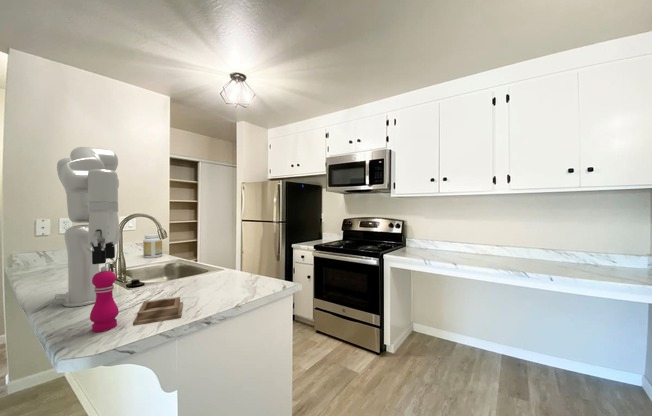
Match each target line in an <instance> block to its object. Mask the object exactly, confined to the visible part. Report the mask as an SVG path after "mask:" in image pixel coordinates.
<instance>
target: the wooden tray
mask: <svg viewBox="0 0 652 416" xmlns="http://www.w3.org/2000/svg"><path fill="white" fill-rule="evenodd" d="M183 308H184V302H183V301H181V297H180V296H176V297H168V298H160V299H154V300H152V299H151V300H146V301H145V300H144V301H143V303H142V304H141V306H140V308H139V310H138V312H137V314H136V316H135V318H134V320H133V322H132V326H138V325H143V324H150V323H156V322H163V321H169V320H174V319H181V318H182V313H183Z"/></svg>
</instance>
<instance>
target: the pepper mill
mask: <svg viewBox="0 0 652 416" xmlns="http://www.w3.org/2000/svg"><path fill="white" fill-rule="evenodd" d="M116 280H117V277H116V273H114V272H113V271H111V270H108V266H104V265H103V266H102V267H100V271H99V273H97V274H95V275H94V276H93V278H92V284H93V285H94V286H95V288H94V289H95V291H94V292H95V293H96V301H95V303H93V307H92V308H91V311H90V314H89V320H90V321H91V322H92V323H93V324H92V325H91V331H92V332H94V333H101V332H106V331H109V330H113V329H115V328H116V326H117V325H118V320H117V318H116V317H118V316H119V313H120V312H119V307H118V305H117V303H116V302H115V300H114V296H113V291H114V290H115V287H114V286H115V285H114V283H115V282H116Z"/></svg>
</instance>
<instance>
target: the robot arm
mask: <svg viewBox="0 0 652 416" xmlns="http://www.w3.org/2000/svg"><path fill="white" fill-rule="evenodd" d="M69 156H70V157H66V158H61V159H59V160H58V161H57V163H56V171H57V175H58V179H59V181H60V183H61V185H62V186H63V188H64V190H65V194H66V204H67V205H66V206H67V207H66V208H67V216H68V219H69V221H70V222H72V223H75V224H76V223H77V224H78V225H73V226H69V227H68V228H66V230H64V231H65V232H64V235H63V236H64V241H65V246H66V251H67V271H68V272H67V277H68V278H67V279H68V280H67V283H68V284H67V285H68V292H65V293H58V294H57V293H56V294H55V296H54V300H56V301H62V300H64V301H63V302H62V303H63V304H62V305H63V306H64V307H69V308H71V307H72V308H73V307H81V306H83V307H84V306H88V305H92V304H95V301H96V293H95V292H94V291H95V289H94V288H95V286H94V285H93V284H92V278H93V276H94V275H95V274H97V273H99V272H100V265H102V264H106V262H107V260H109V259H115V258H116V254H115V253H116V246H115V245H117V244H118V243H120V240H121V232H120V224H119V216H118V215H119V214H118V213H119V186H120V181H119V178H118V177H119V175H118V174H117V172H116V170H117V168H118V166H119V159H118V155H117V154H116V152H115V151H113V150H111V149H107V148H105V149H104V148H96V147H90V146H78V147H76V148H75V147H74V148H73V149H72V150H71V151H70V155H69ZM81 223H82V224H81Z"/></svg>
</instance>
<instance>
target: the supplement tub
mask: <svg viewBox="0 0 652 416" xmlns="http://www.w3.org/2000/svg"><path fill="white" fill-rule="evenodd" d="M158 234H159V233H153V234H152V233H151V234H150V233H149V234H144V239H143V240H142V241H143V243H142V244H143V258H145V259H155V258H160V257H162V256H163V239H162V240H160V239H159V237H158Z"/></svg>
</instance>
